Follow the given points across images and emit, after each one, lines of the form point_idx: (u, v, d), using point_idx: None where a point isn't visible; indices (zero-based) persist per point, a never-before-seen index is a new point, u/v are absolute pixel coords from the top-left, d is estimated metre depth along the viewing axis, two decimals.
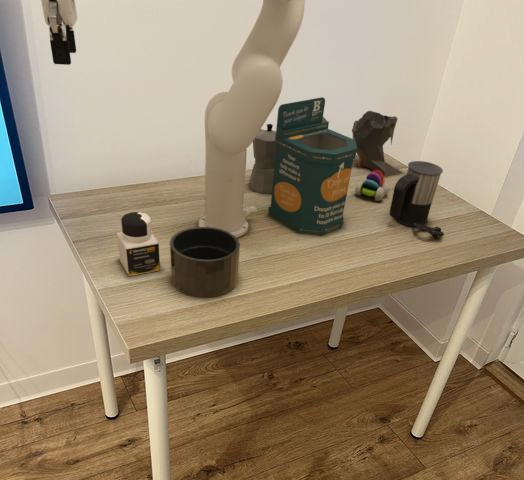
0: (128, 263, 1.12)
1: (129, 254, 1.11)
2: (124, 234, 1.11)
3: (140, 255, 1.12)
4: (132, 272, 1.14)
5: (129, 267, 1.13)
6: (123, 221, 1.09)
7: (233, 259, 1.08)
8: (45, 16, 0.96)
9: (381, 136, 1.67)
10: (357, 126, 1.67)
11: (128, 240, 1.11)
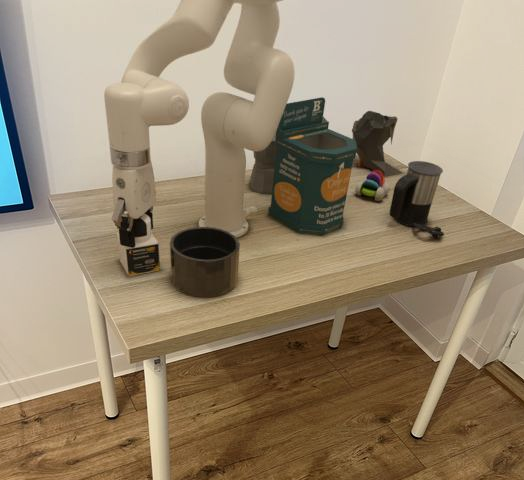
0: (128, 263, 1.12)
1: (129, 254, 1.11)
2: None
3: (140, 255, 1.12)
4: (132, 272, 1.14)
5: (129, 267, 1.13)
6: None
7: (233, 259, 1.08)
8: None
9: (381, 136, 1.67)
10: (357, 126, 1.67)
11: None
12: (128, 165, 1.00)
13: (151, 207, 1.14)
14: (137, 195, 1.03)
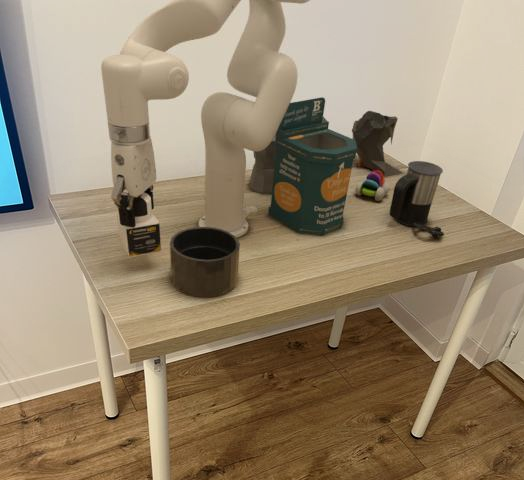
0: (128, 244, 1.10)
1: (129, 234, 1.09)
2: None
3: (140, 235, 1.10)
4: (133, 253, 1.12)
5: (129, 248, 1.11)
6: None
7: (233, 259, 1.08)
8: (114, 186, 1.02)
9: (381, 136, 1.67)
10: (357, 126, 1.67)
11: None
12: (127, 141, 0.97)
13: (151, 186, 1.11)
14: (137, 172, 1.00)
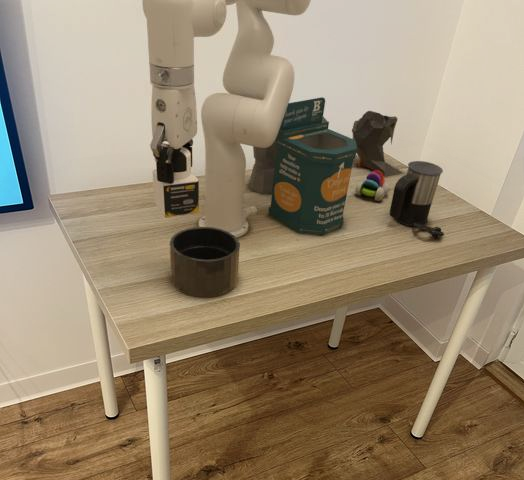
0: (165, 202, 1.01)
1: (166, 192, 1.00)
2: None
3: (178, 194, 1.01)
4: (169, 213, 1.03)
5: (166, 207, 1.02)
6: None
7: (233, 259, 1.08)
8: (153, 136, 0.94)
9: (381, 136, 1.67)
10: (357, 126, 1.67)
11: None
12: (170, 84, 0.88)
13: (191, 141, 1.03)
14: (178, 120, 0.92)
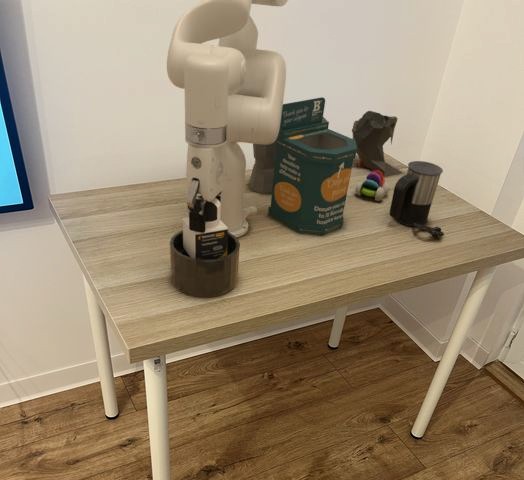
0: (196, 250, 1.06)
1: (198, 240, 1.05)
2: None
3: (209, 241, 1.06)
4: None
5: (196, 254, 1.06)
6: None
7: (233, 259, 1.08)
8: (187, 190, 0.98)
9: (381, 136, 1.67)
10: (357, 126, 1.67)
11: None
12: (205, 143, 0.93)
13: None
14: (212, 176, 0.97)
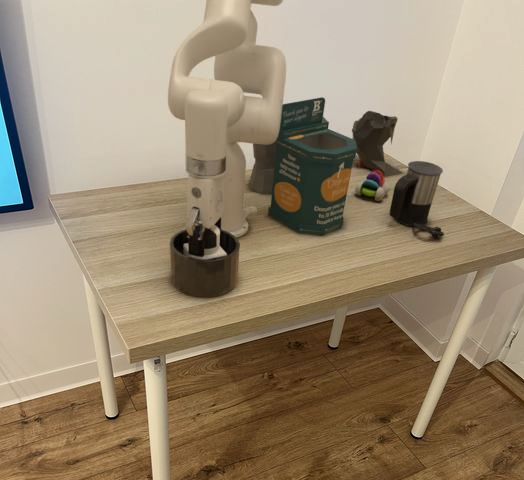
0: None
1: None
2: None
3: None
4: None
5: None
6: None
7: (233, 259, 1.08)
8: (187, 218, 1.02)
9: (381, 136, 1.67)
10: (357, 126, 1.67)
11: None
12: (205, 174, 0.97)
13: None
14: (212, 204, 1.00)
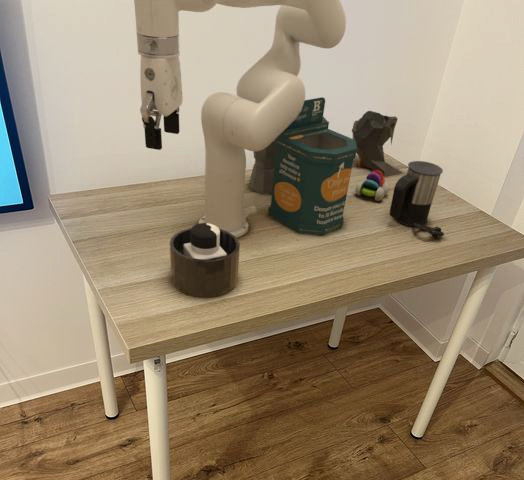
0: None
1: None
2: (193, 246, 1.08)
3: None
4: None
5: None
6: (193, 232, 1.07)
7: (233, 259, 1.08)
8: None
9: (381, 136, 1.67)
10: (357, 126, 1.67)
11: (197, 252, 1.09)
12: (158, 53, 0.94)
13: (177, 108, 1.08)
14: (167, 88, 0.97)
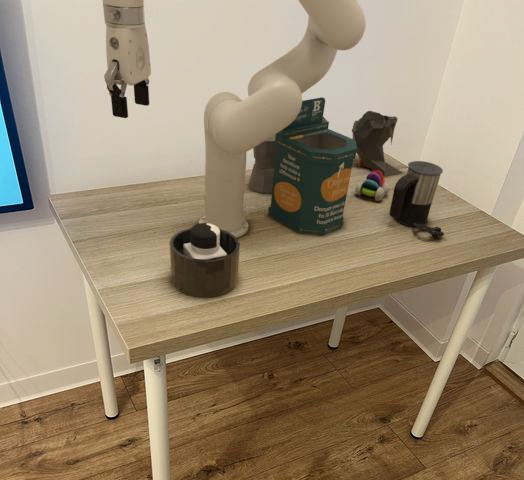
0: None
1: None
2: (193, 246, 1.08)
3: None
4: None
5: None
6: (193, 232, 1.07)
7: (233, 259, 1.08)
8: None
9: (381, 136, 1.67)
10: (357, 126, 1.67)
11: (197, 252, 1.09)
12: (122, 22, 0.98)
13: (147, 80, 1.12)
14: (131, 58, 1.02)
